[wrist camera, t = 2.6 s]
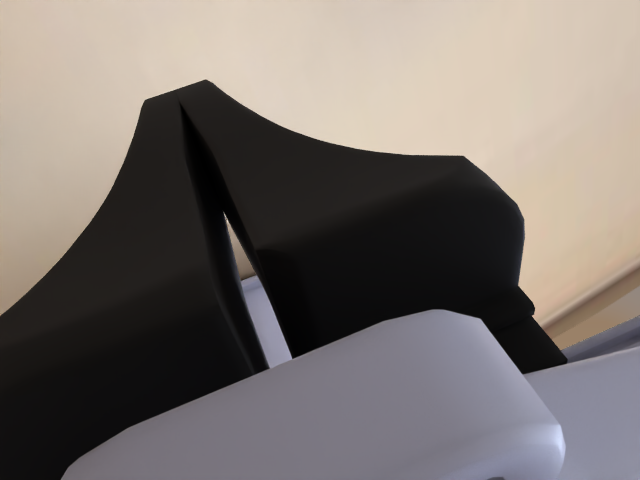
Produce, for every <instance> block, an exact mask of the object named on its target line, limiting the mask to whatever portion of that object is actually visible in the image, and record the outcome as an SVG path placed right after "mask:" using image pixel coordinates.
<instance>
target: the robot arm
mask: <svg viewBox="0 0 640 480" xmlns="http://www.w3.org/2000/svg"><path fill="white" fill-rule="evenodd" d="M223 211H224V212H223ZM224 213H225V215H226V217H227V219H228V221H229V223H230V225H231V227H232V229H233V231H234V232H235V234H236V236H237V238H238V240H239V242H240V244H241V246H242V248H243V250H244V252H245V253H246V255H247V257H248V259H249V261H250V263H251V265H252V267H253V269H254V271H255V273H256V274H257V275H255V276H253V277H250V278H247V279H245V280H242V281H240V277H239V273H238V269H237V264H236V260H235V256H234V252H233V248H232V244H231V240H230V236H229V232H228V228H227V224H226V220H225V216H224ZM524 239H525V231H524V218H523V216H522V214H521V212H520V210H519V207H518V205H517V204H516V203H515V202H514V201H513V200H512V199H511V198H510V197H509V196H508V195H507V194H506V193H505V192H504V191H503V190H502V189H501V188H500V187H499V186H498V185H497V184H496V183H495V182H494V181H493V180H492V179H491V178H490V177H489V176H488V175H487V174H485V173H484V172H483V171H482V170H480V169H479V168H478V167H477V166H475V165H474V164H473V163H472V162H470V161H469V160H468V159H467V158H465V157H464V156H438V155H402V154H392V153H382V152H373V151H367V150H360V149H355V148H350V147H345V146H341V145H336V144H332V143H328V142H324V141H320V140H317V139H314V138H311V137H308V136H305V135H302V134H299V133H296V132H294V131H291V130H289V129H286V128H284V127H282V126H279V125H277V124H275V123H273V122H271V121H269V120H267V119H266V118H264V117H262V116H260V115H258V114H257V113H255V112H253V111H252V110H250V109H248V108H247V107H245V106H243V105H242V104H240V103H239V102H237V101H236V100H234V99H233V98H231V97H230V96H229V95H227V94H226V93H224V92H223V91H222V90H220V89H219V88H218V87H217V86H216V85H214V84H213V83H212V82H210V81H208V80H203V81H200V82H197V83H194V84H191V85H188V86H185V87H182V88H179V89H176V90H173V91H170V92H167V93H164V94H161V95H158V96H155V97H152V98H150V99H147V100H145V101H144V103H143V105H142V108H141V112H140V116H139V119H138V123H137V126H136V130H135V133H134V136H133V139H132V142H131V144H130V147H129V150H128V153H127V155H126V158H125V160H124V163H123V165H122V167H121V169H120V172H119V174H118V176H117V178H116V180H115V182H114V185H113V187H112V189H111V191H110V192H109V194H108V196H107V198H106V199H105V201H104V202H103V204H102V205H101V207H100V209H99V210H98V212H97V213H96V215H95V216H94V218H93V219H92V221H91V222H90V223H89V225H88V226H87V227H86V228H85V230H84V231H83V232H82V233H81V235H80V236H79V237H78V238H77V240H76V241H75V242H74V243H73V245H72V246H71V247H70V248H69V249H68V251H67V252H66V253H65V254H64V256H63V257H62V258H61V259H60V260H59V261H58V262H57V263H56V264H55V265H54V266H53V267H52V269H51V270H50V271H49V272H48V273H47V274H46V275H45V276H44V277H43V278H42V279H41V280H40V281H39V282H38V283H37V284H36V285H35V286H34V287H33V288H31V289H30V290H29V291H28V292H27V293H26V294H25V295H24V296H23V297H22V298H21V299H20V300H19V301H18V302H16V303H15V304H14V305H13V306H12V307H11V308H9V309H8V310H7V311H6V312H5V313H3V314H2V315H1V316H0V480H640V315H639V316H637V317H635V318H633V319H630V320H628V321H626V322H623V323H621V324H619V325H617V326H614V327H612V328H610V329H608V330H605V331H603V332H601V333H599V334H596V335H594V336H592V337H590V338H587V339H585V340H583V341H581V342H578V343H576V344H574V345H572V346H569V347H567V348H565V349H563V350H559V348H558V347H557V346H556V345H555V343H554V342H553V341H552V340H551V339H550V337H549V336H548V335H547V334H546V333H545V331H544V330H543V329H542V328H541V327H540V326H539V324H538V323H537V322H536V321H535V320H534V318H533V317H532V315H534V312H535V307H534V305H533V302H532V301H531V300H530V299H529V298H528V297H527V295H526V294H525V293H524V292H523V291H522V290H521V288H520V287H519V286H518V282H519V275H520V268H521V261H522V253H523V246H524Z"/></svg>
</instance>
